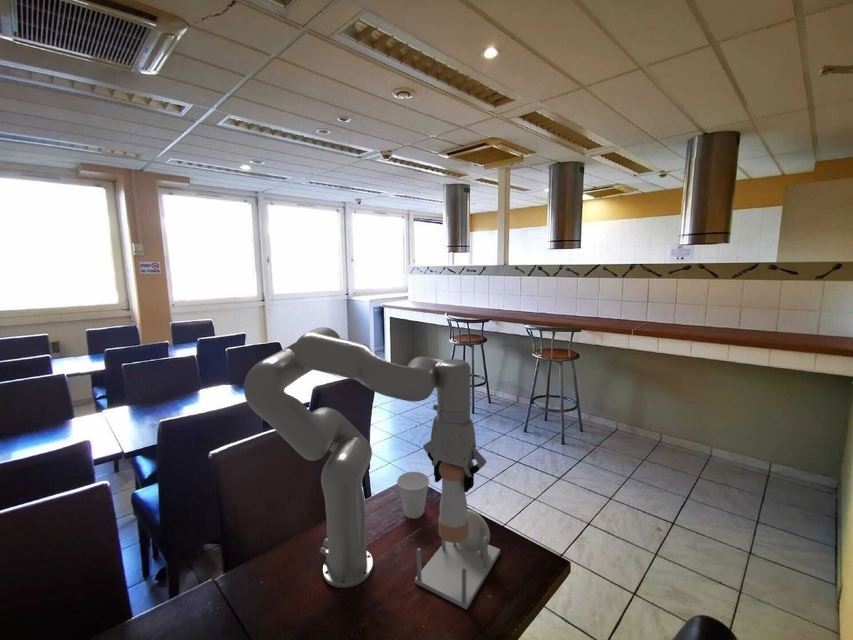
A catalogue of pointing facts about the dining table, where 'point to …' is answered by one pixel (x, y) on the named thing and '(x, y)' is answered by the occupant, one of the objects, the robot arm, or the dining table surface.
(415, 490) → the cup
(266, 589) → the dining table surface
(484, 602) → the dining table surface
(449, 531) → the salt shaker
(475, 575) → the dish rack
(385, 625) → the dining table surface
